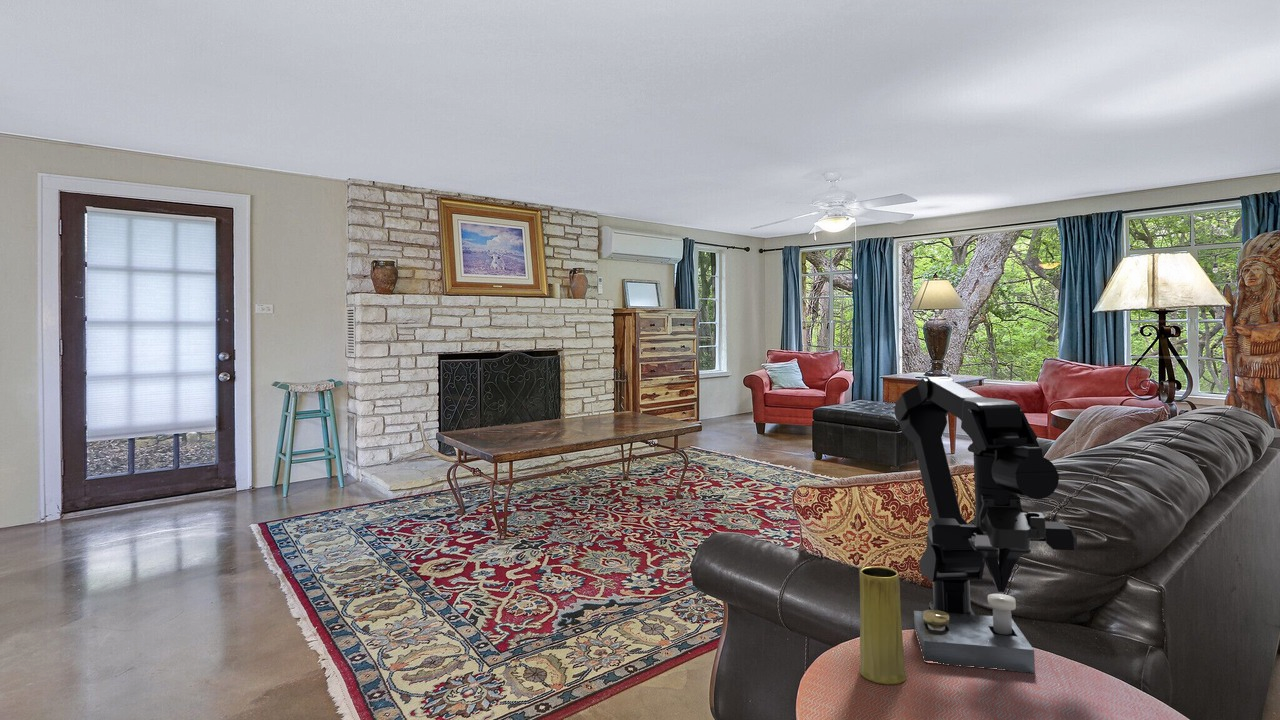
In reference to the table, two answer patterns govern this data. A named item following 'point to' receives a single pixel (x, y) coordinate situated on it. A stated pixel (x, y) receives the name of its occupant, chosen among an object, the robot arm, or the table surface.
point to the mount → (975, 644)
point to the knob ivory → (1002, 612)
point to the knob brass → (936, 619)
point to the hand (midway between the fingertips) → (1000, 591)
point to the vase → (881, 626)
